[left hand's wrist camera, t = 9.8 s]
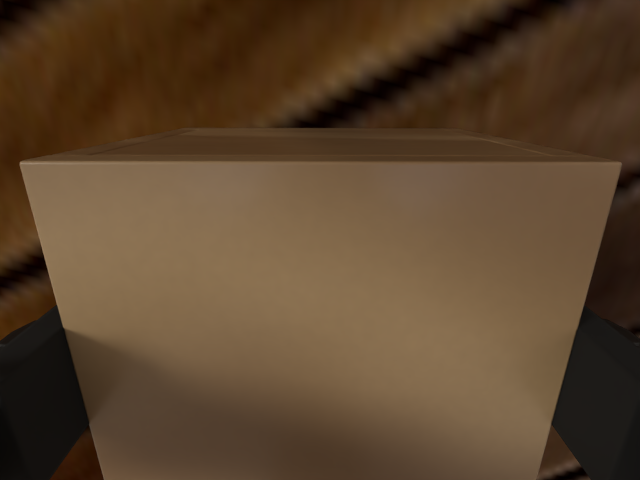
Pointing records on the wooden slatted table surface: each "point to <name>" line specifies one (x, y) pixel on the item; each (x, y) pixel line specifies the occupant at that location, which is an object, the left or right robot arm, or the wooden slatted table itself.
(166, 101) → the wooden slatted table surface
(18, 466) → the left robot arm
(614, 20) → the wooden slatted table surface
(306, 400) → the cabinet
